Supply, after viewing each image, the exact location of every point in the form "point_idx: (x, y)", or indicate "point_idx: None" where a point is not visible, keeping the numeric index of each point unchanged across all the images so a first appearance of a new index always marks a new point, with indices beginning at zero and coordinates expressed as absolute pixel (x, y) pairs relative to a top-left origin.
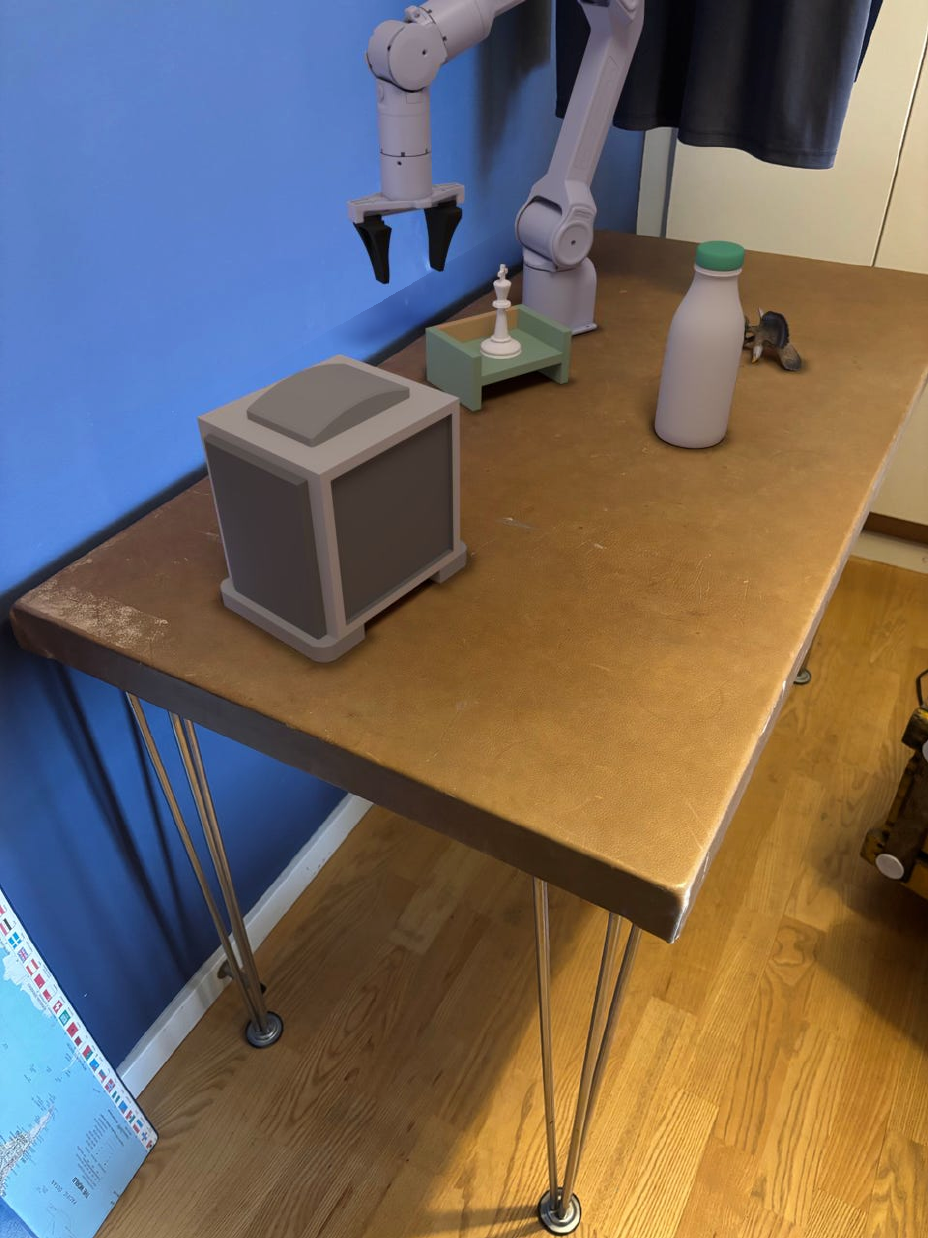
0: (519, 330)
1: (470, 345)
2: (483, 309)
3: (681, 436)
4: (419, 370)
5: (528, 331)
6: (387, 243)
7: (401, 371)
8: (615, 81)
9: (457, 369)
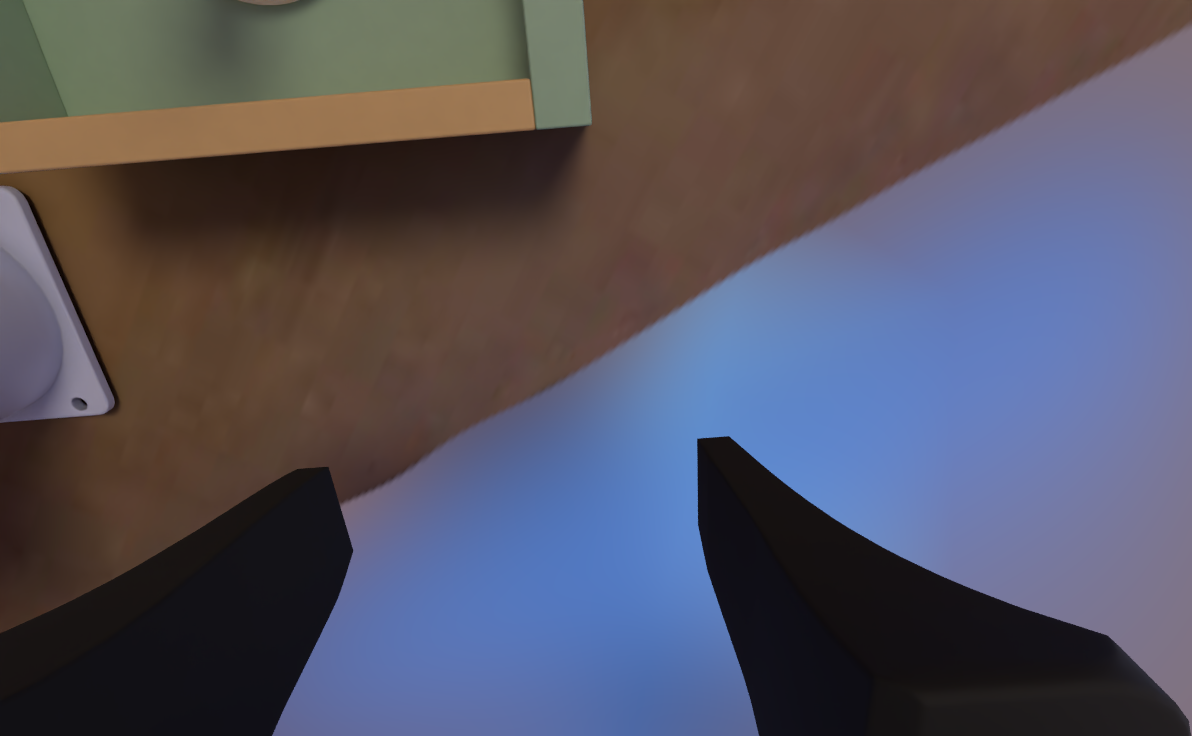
0: (67, 86)
1: (376, 40)
2: None
3: None
4: (574, 216)
5: (17, 16)
6: (817, 584)
7: (636, 241)
8: None
9: None
